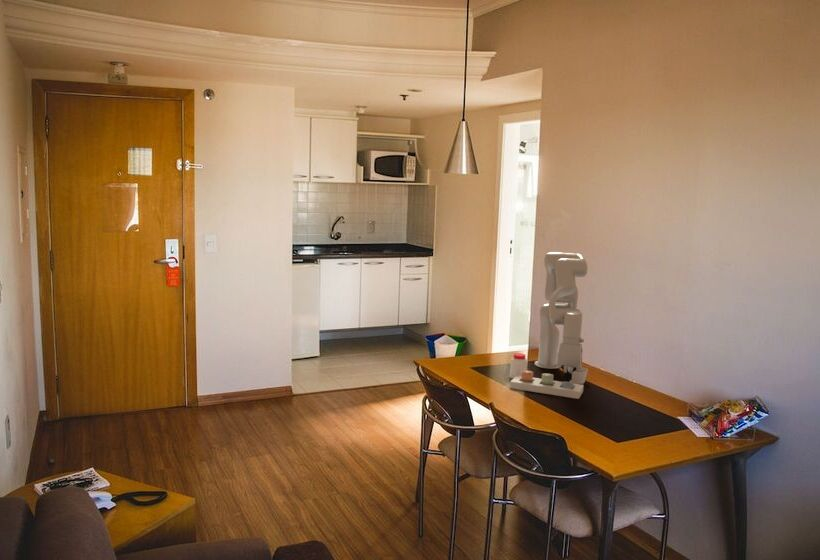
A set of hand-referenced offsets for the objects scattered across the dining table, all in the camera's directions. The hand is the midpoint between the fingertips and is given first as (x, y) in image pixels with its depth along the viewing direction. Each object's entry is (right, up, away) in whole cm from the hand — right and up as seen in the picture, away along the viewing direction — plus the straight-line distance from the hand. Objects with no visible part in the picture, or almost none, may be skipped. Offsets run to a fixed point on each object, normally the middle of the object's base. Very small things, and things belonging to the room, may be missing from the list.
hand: (567, 381), depth 297 cm
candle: (+8, -3, +18) cm, 20 cm away
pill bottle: (-18, -2, +22) cm, 28 cm away
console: (-9, -4, +4) cm, 10 cm away
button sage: (-8, -2, +3) cm, 9 cm away
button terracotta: (-17, -1, +7) cm, 18 cm away
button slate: (0, -5, 0) cm, 5 cm away
